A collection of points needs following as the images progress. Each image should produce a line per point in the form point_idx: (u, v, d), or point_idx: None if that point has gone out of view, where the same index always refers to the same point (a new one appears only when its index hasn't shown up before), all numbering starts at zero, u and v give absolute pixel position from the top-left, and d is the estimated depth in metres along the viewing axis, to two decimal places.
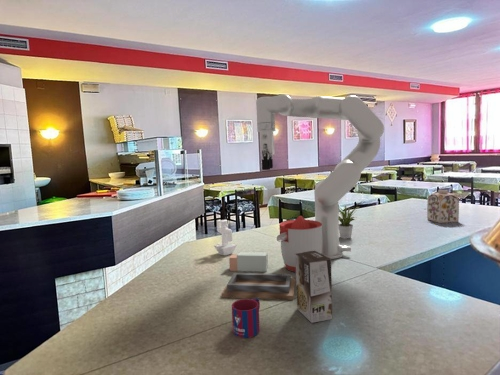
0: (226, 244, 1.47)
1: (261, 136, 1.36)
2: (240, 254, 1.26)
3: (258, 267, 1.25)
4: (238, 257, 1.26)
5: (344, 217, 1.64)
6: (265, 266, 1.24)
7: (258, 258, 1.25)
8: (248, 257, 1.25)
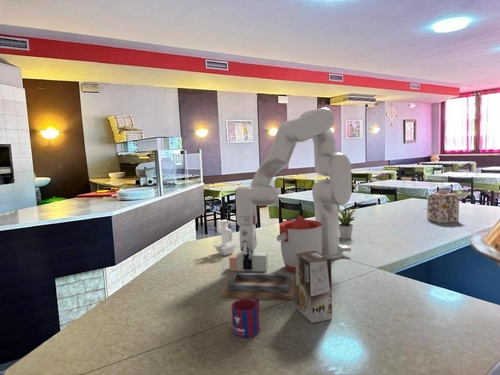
0: (226, 244, 1.47)
1: (240, 232, 1.22)
2: (240, 254, 1.26)
3: (258, 267, 1.25)
4: (238, 257, 1.26)
5: (344, 217, 1.64)
6: (265, 266, 1.25)
7: (258, 258, 1.25)
8: None
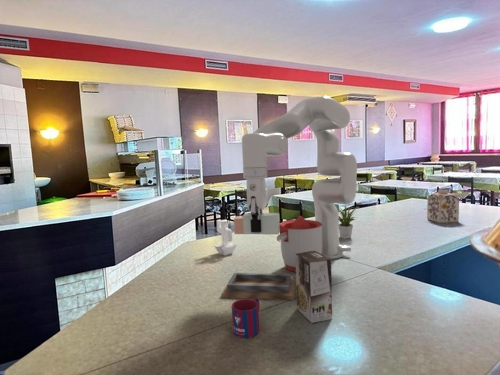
0: (226, 244, 1.47)
1: (248, 186, 1.02)
2: (247, 215, 1.06)
3: (268, 229, 1.05)
4: (244, 218, 1.06)
5: (344, 217, 1.64)
6: (277, 228, 1.04)
7: (268, 218, 1.04)
8: None
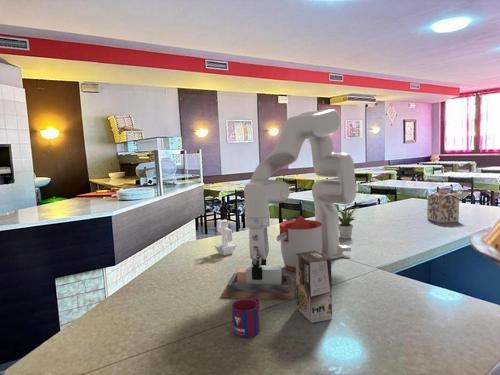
0: (226, 244, 1.47)
1: (250, 236, 1.03)
2: (250, 268, 1.07)
3: (271, 283, 1.06)
4: (247, 271, 1.07)
5: (344, 217, 1.64)
6: (279, 282, 1.06)
7: (271, 273, 1.06)
8: None
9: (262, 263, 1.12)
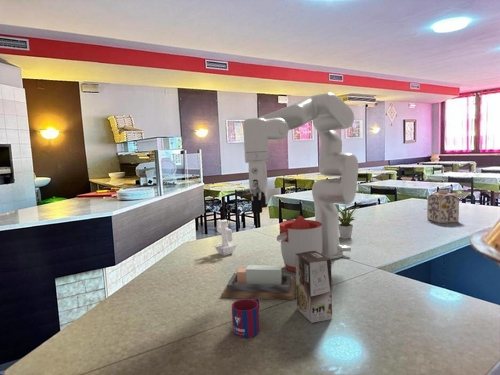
0: (226, 244, 1.47)
1: (250, 170, 1.04)
2: (250, 268, 1.07)
3: (271, 283, 1.06)
4: (247, 271, 1.07)
5: (344, 217, 1.64)
6: (279, 282, 1.06)
7: (271, 273, 1.06)
8: (259, 271, 1.06)
9: (261, 201, 1.14)
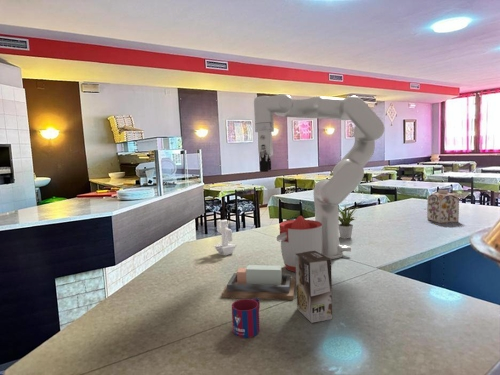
0: (226, 244, 1.47)
1: (259, 137, 1.31)
2: (250, 268, 1.07)
3: (271, 283, 1.06)
4: (247, 271, 1.07)
5: (344, 217, 1.64)
6: (279, 282, 1.06)
7: (271, 273, 1.06)
8: (259, 271, 1.06)
9: (268, 165, 1.41)
